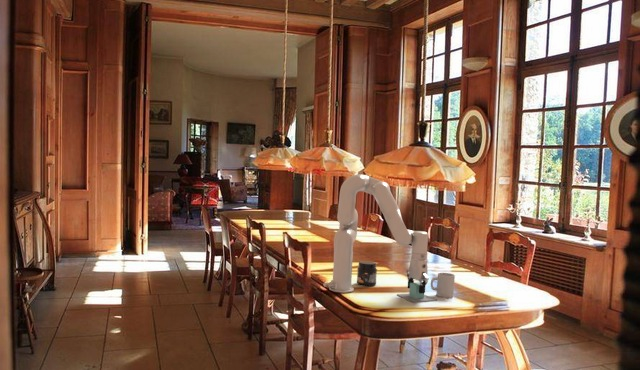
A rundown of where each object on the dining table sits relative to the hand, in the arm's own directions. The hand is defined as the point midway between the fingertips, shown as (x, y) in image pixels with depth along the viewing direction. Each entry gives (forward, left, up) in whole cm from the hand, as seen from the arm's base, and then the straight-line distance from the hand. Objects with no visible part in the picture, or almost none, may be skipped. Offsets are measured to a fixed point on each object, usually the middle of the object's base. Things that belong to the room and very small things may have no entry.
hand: (416, 290), depth 264 cm
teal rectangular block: (0, 0, -3) cm, 3 cm away
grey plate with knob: (0, 0, -4) cm, 4 cm away
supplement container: (-11, +31, -4) cm, 33 cm away
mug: (+16, +1, -4) cm, 17 cm away
